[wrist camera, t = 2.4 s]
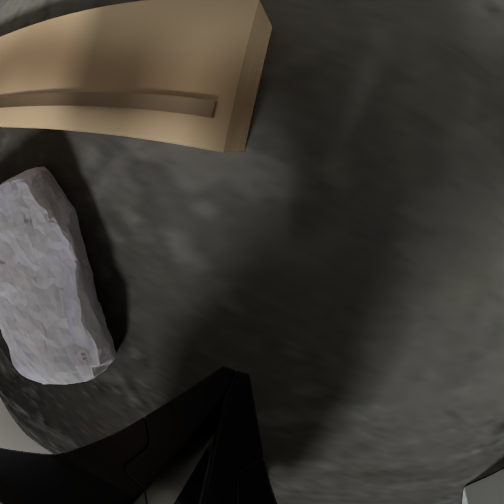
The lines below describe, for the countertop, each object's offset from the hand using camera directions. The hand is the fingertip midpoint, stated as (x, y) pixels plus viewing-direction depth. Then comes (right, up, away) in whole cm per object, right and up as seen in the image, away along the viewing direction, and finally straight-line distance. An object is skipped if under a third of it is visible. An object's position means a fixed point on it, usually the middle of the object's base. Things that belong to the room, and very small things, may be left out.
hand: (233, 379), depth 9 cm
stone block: (-11, +3, +7) cm, 13 cm away
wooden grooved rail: (-12, +13, +3) cm, 18 cm away
